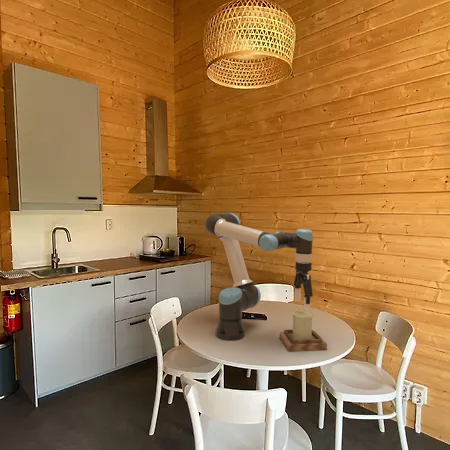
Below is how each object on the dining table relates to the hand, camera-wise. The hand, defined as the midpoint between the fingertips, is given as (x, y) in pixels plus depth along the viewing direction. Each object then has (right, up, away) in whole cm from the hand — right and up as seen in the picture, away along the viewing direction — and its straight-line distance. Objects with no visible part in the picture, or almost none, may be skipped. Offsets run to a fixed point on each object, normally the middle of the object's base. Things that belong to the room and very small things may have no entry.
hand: (302, 305), depth 166 cm
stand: (0, -19, +1) cm, 19 cm away
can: (0, -16, +1) cm, 16 cm away
